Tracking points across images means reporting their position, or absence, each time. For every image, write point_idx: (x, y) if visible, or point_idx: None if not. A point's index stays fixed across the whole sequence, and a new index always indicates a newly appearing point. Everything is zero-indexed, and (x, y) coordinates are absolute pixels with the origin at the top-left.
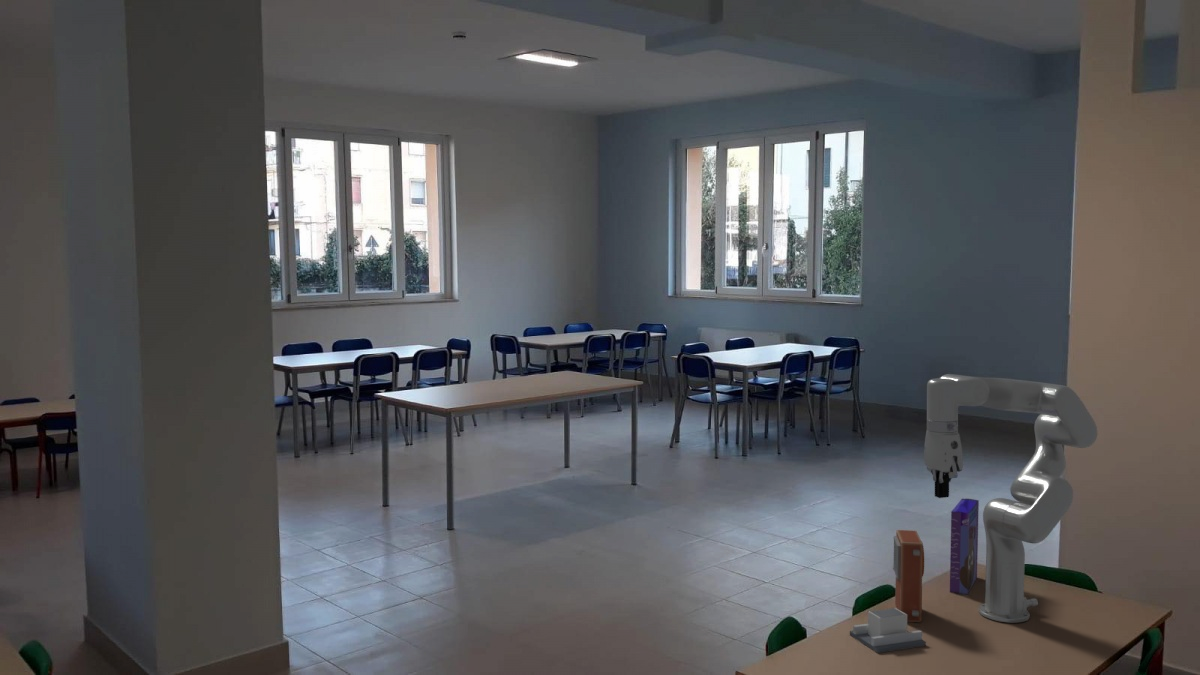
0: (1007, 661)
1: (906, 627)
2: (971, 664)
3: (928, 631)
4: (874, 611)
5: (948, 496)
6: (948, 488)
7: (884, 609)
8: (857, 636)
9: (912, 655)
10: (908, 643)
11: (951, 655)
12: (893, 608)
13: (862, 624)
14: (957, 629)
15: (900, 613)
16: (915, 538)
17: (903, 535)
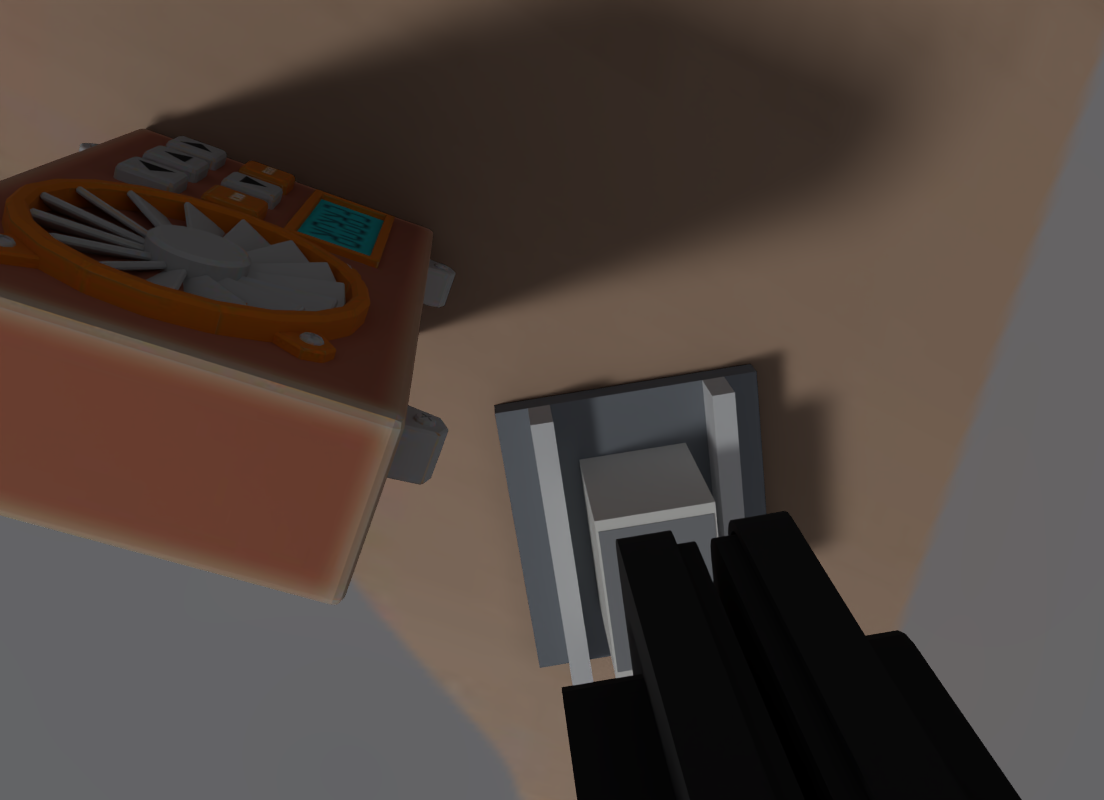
0: (1057, 30)
1: (697, 470)
2: (1020, 250)
3: (568, 253)
4: (627, 653)
5: (782, 517)
6: (871, 661)
7: (610, 592)
8: (607, 654)
9: (837, 477)
10: (752, 465)
11: (894, 293)
12: (604, 537)
13: (568, 642)
14: (572, 58)
15: (690, 532)
16: (200, 413)
17: (66, 489)
